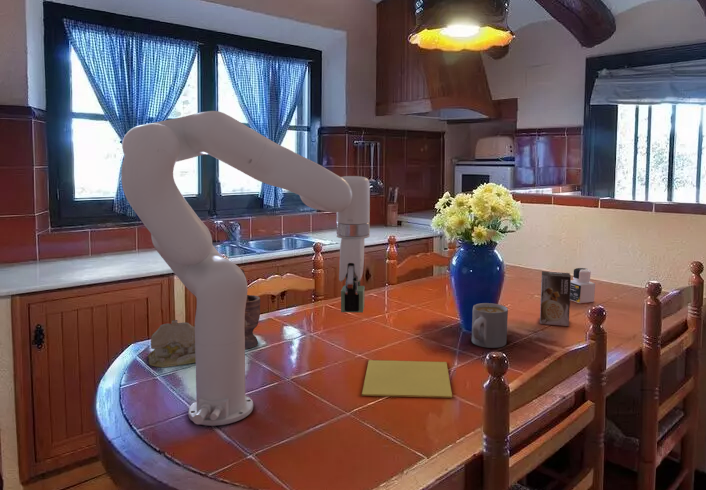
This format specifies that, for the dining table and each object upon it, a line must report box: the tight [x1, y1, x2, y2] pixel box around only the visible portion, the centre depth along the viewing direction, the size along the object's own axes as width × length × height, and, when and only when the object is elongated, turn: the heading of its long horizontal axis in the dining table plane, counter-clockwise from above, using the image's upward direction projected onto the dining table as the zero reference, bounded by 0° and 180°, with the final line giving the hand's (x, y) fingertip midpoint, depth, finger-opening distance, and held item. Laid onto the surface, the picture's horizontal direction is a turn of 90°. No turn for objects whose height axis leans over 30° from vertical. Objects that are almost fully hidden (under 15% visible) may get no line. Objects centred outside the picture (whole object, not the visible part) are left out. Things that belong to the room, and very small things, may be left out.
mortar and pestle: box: [240, 268, 261, 350], centre depth 153 cm, size 12×9×20 cm
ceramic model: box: [147, 319, 196, 368], centre depth 141 cm, size 14×11×10 cm
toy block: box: [340, 285, 366, 314], centre depth 129 cm, size 5×5×5 cm
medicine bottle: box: [570, 267, 596, 304], centre depth 207 cm, size 7×7×12 cm
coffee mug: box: [471, 302, 509, 349], centre depth 158 cm, size 13×10×10 cm
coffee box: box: [539, 270, 572, 327], centre depth 179 cm, size 9×6×16 cm
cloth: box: [361, 359, 453, 399], centre depth 133 cm, size 20×20×1 cm
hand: (353, 306), depth 130 cm, fingers closed on toy block, 5 cm apart
